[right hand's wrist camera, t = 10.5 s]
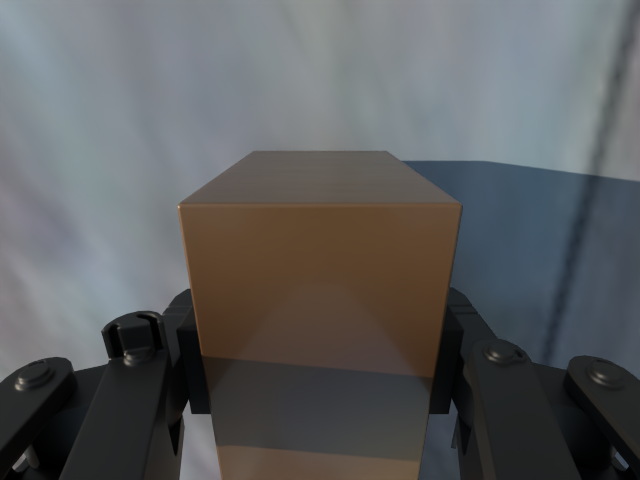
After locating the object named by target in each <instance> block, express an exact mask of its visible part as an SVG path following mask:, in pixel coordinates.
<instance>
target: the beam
mask: <svg viewBox="0 0 640 480" xmlns="http://www.w3.org/2000/svg"><path fill="white" fill-rule="evenodd" d="M177 208H178V214H179V220H180V226H181V233H182V239H183V245H184V251H185V257H186V263H187V269H188V276H189V282H190V288H191V294H192V300H193V306H194V312H195V319H196V325H197V331H198V337H199V343H200V349H201V355H202V362H203V368H204V374H205V380H206V386H207V392H208V398H209V405H210V411H211V417H212V423H213V429H214V435H215V441H216V448H217V454H218V460H219V466H220V472H221V478H222V480H418V479H419V473H420V466H421V460H422V454H423V448H424V442H425V436H426V430H427V424H428V417H429V411H430V405H431V399H432V393H433V387H434V381H435V374H436V368H437V362H438V356H439V350H440V344H441V338H442V332H443V325H444V319H445V313H446V307H447V301H448V295H449V289H450V282H451V276H452V270H453V264H454V258H455V252H456V246H457V239H458V233H459V227H460V221H461V215H462V209H463V206H462V204H461V203H460V202H458V201H457V200H456V199H454V198H453V197H451V196H450V195H449V194H447V193H446V192H444V191H443V190H441V189H440V188H439V187H437V186H436V185H434V184H433V183H432V182H430V181H429V180H427V179H426V178H424V177H423V176H422V175H420V174H419V173H417V172H416V171H414V170H413V169H412V168H410V167H409V166H407V165H406V164H405V163H403V162H402V161H400V160H399V159H397V158H396V157H395V156H393V155H392V154H390V153H389V152H387V151H253V152H251V153H250V154H249V155H247V156H246V157H244V158H243V159H241V160H240V161H239V162H237V163H236V164H234V165H233V166H231V167H230V168H229V169H227V170H226V171H224V172H223V173H221V174H220V175H219V176H217V177H216V178H214V179H213V180H211V181H210V182H209V183H207V184H206V185H204V186H203V187H202V188H200V189H199V190H197V191H196V192H194V193H193V194H192V195H190V196H189V197H187V198H186V199H184V200H183V201H182V202H180V203H179V204H178V207H177Z"/></svg>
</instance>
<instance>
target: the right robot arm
mask: <svg viewBox="0 0 640 480" xmlns="http://www.w3.org/2000/svg"><path fill="white" fill-rule="evenodd" d="M101 332H102V336H103V339H104V343H105V346H106V350H107V353H108V357H109V362H108V364H105V365H102V366H98V367H93V368H88V369H83V370H79V371H74V369H73V367H72V364H71V362H70V361H69V360H68V359H66V358H61V357H52V358H45V359H41V360H38V361H34V362H32V363H29V364H28V365H26V366H24V367H22V368H20V369H18V370H16V371H15V372H13V373H12V374H11V375H9V376H8V377H7V378H5V379H4V380H3V381H2V382H1V383H0V480H179V477H180V468H181V458H182V448H183V438H184V428H185V426H184V420H183V415H182V413H183V411H184V408H185V406H186V404H187V402H188V400H189V402H190V407H191V413H192V414H211V411H210V405H209V398H208V392H207V386H206V380H205V374H204V368H203V362H202V355H201V349H200V343H199V337H198V331H197V325H196V319H195V312H194V306H193V300H192V294H191V289H186V290H185V291H183V292H182V293H180V294H179V295H177V296H176V297H175V298H174V299H173V301H172V302H171V303H170V305H169V307H168V308H167V309H166V310H165V311H164V313H163V316H161V315H160V314H159V313H157V312H153V311H137V312H133V313H129V314H126V315H123V316H121V317H118V318H116V319H114V320H113V321H111V322H110V323H108V324H107V325H106V326H105V327H104V328H103V330H102V331H101ZM451 398H452V400H453V402H454V404H455V406H456V408H457V411H458V415H457V420H456V425H455V430H454V435H453V440H452V446H451V448H455V449H456V445H457V447H458V457H459V467H460V476H461V480H640V380H638V379H637V378H636V377H635V376H634V375H632V374H631V373H630V372H628V371H627V370H625V369H624V368H622V367H620V366H618V365H616V364H614V363H613V362H610V361H608V360H604V359H601V358H598V357H591V356H577V357H574V358H573V359H571V360H570V362H569V365H568V367H567V370H564V369H559V368H554V367H549V366H545V365H540V364H536V363H533V362H532V361H531V359H530V358H529V357H528V355H527V354H526V352H524V351H523V350H522V349H521V348H519V347H518V346H516V345H514V344H512V343H510V342H508V341H506V340H502V339H498V338H497V337H496V336H495V334H494V333H493V332H492V330H491V329H490V328H489V326H488V325H487V324H486V323H485V321H484V320H483V319H482V317H481V316H480V315H479V314H478V312H477V311H476V309H475V308H474V307H472V304H471V303H470V302H469V300H468V299H467V298H466V296H465V295H463V294H462V293H460V292H459V291H457V290H456V289H454V288H450V289H449V295H448V301H447V307H446V313H445V319H444V325H443V332H442V338H441V344H440V350H439V356H438V362H437V368H436V374H435V381H434V387H433V393H432V399H431V405H430V411H429V414H449V409H450V404H451ZM617 451H618V453H619V454H620V455H621V456H622V457H623V459H624V460H625V461H626V462H627V464H628V465H629V467H628V468H627V469H626V468H625V467H624V466H622V465H621V464H620V462H619V461H618V460H617V459H616V457H615V454H616V452H617ZM23 453H24V454H25V456H26V458H25V460H24V461H23V462H22V463H21V465H20V466H19V467H17V468H16V469H15V470H13V468H12V467H13V465H14V464H15V463H16V462H17V460H18V459H19V458H20V457H21V456H22V454H23Z"/></svg>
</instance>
